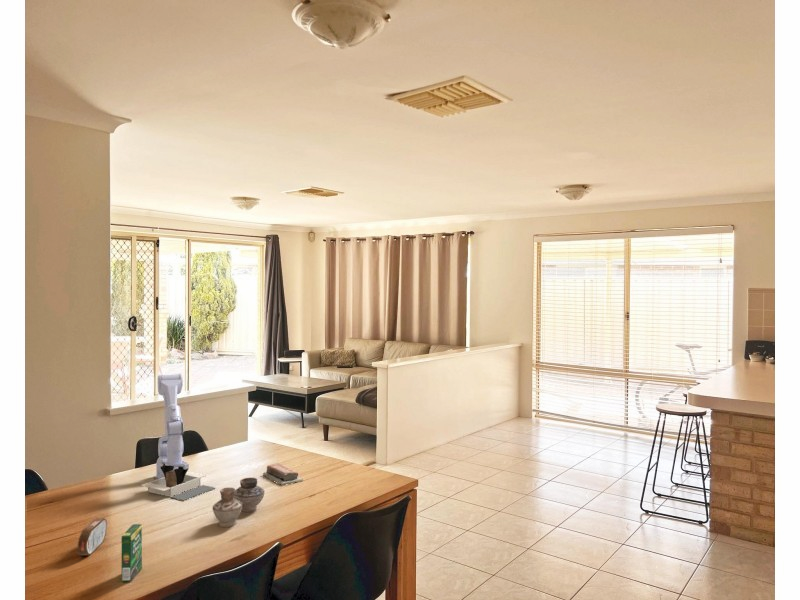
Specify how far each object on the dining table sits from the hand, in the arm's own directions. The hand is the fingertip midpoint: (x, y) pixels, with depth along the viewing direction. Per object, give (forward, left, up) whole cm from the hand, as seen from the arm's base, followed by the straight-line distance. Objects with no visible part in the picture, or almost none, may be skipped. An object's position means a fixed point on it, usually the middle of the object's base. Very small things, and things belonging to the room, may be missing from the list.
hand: (174, 483), depth 232 cm
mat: (+11, 0, -2) cm, 11 cm away
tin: (+23, -50, -2) cm, 55 cm away
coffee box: (+48, -55, -2) cm, 73 cm away
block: (0, 0, -2) cm, 2 cm away
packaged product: (+29, +32, -3) cm, 43 cm away
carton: (0, 0, -2) cm, 2 cm away
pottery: (+43, -8, -2) cm, 44 cm away
